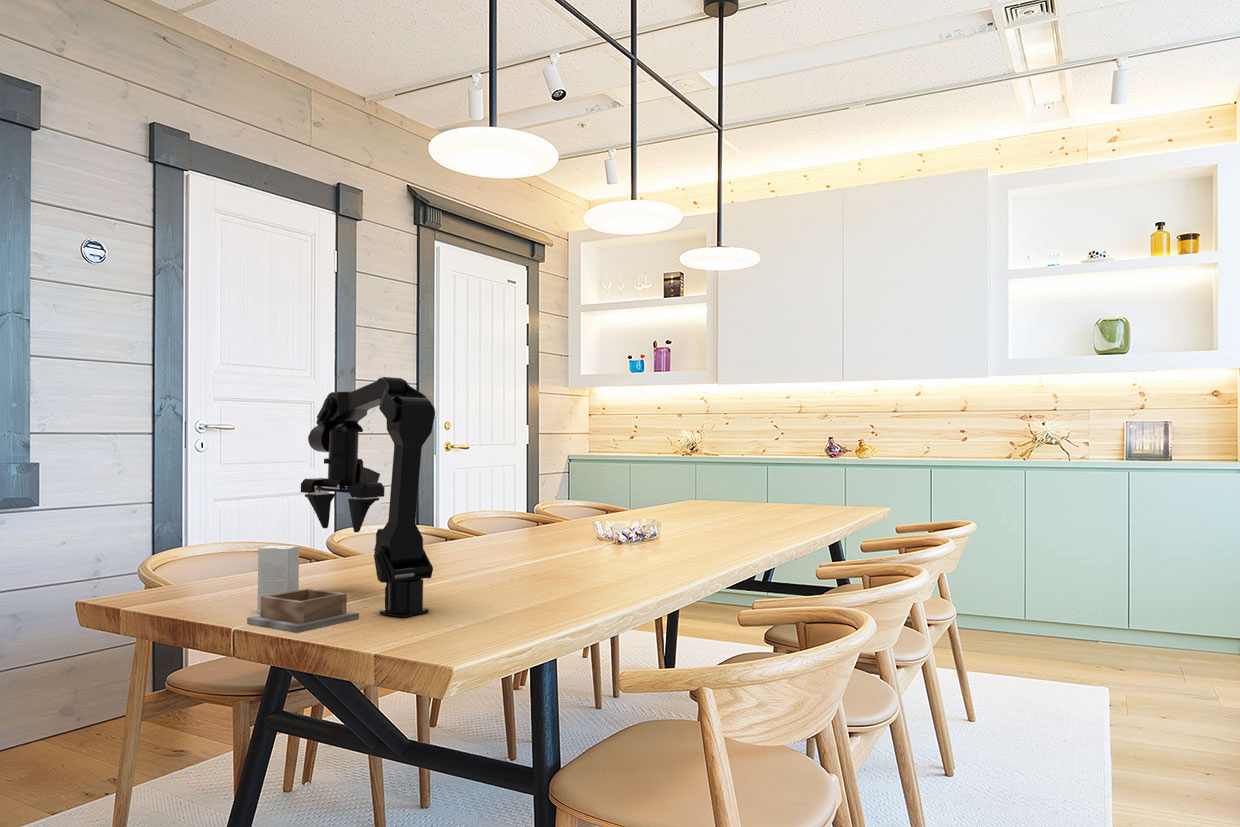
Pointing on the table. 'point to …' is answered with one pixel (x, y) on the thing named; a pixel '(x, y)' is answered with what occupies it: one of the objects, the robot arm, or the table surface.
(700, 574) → the table surface
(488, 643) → the table surface
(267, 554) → the skincare box
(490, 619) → the table surface
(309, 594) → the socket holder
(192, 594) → the table surface
